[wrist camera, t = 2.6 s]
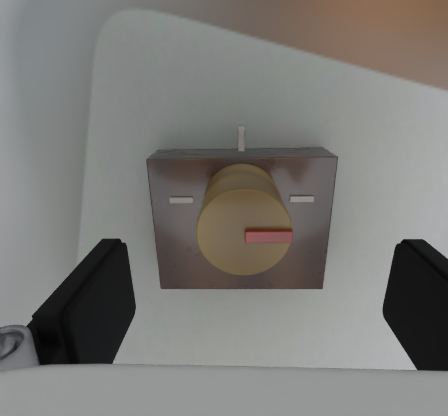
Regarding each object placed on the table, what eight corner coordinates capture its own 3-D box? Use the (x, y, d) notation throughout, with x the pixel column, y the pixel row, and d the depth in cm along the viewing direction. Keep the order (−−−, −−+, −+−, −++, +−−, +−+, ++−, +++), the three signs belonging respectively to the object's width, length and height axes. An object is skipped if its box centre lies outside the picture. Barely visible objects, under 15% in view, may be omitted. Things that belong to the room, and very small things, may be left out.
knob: (206, 232, 19) (197, 279, 14) (203, 163, 18) (192, 190, 13) (276, 232, 19) (291, 279, 14) (279, 162, 17) (297, 189, 13)
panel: (169, 265, 24) (160, 290, 21) (155, 121, 20) (141, 127, 17) (311, 265, 23) (323, 290, 20) (326, 119, 19) (343, 123, 16)
